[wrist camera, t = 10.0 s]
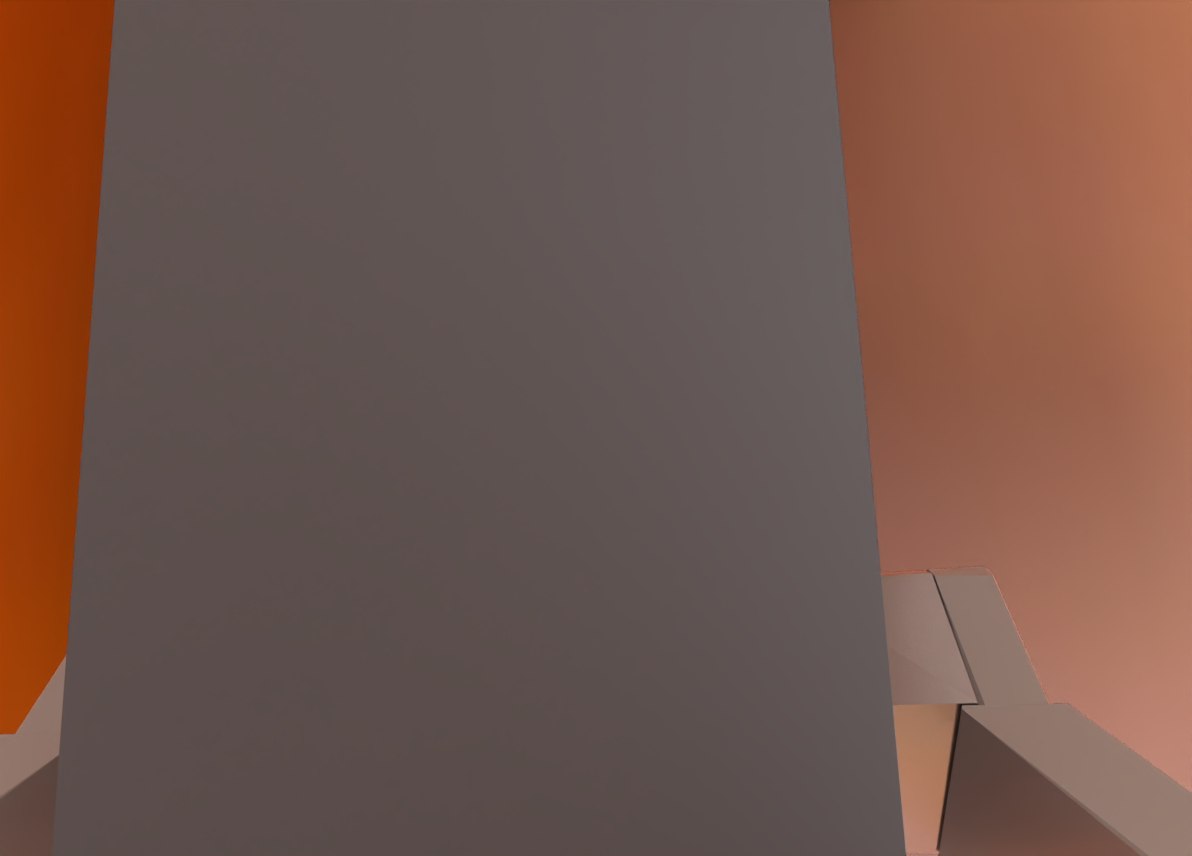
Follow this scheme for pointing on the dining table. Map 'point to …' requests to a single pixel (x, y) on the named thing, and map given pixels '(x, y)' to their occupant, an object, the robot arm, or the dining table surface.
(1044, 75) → the dining table surface
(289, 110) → the grey block
